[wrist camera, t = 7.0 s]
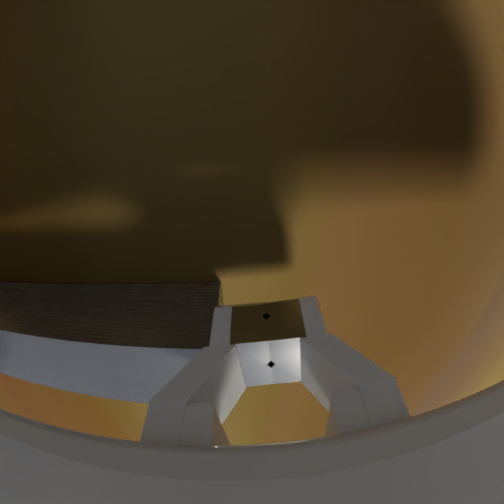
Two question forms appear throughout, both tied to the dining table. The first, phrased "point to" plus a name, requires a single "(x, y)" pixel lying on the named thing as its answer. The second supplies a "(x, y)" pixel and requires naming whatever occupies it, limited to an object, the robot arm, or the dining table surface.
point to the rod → (104, 334)
